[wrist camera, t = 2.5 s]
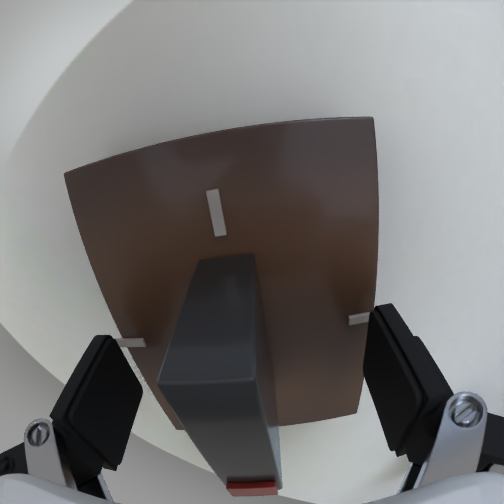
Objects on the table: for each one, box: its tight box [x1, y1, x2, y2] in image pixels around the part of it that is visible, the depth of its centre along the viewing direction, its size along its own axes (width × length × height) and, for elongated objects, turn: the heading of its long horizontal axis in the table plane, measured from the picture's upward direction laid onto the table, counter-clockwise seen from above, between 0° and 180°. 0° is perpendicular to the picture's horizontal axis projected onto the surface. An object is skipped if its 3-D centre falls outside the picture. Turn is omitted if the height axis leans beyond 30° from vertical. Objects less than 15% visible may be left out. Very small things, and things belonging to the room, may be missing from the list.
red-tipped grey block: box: [157, 253, 282, 496], centre depth 8 cm, size 6×2×5 cm, turn 8°
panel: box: [64, 117, 379, 430], centre depth 12 cm, size 14×11×3 cm
